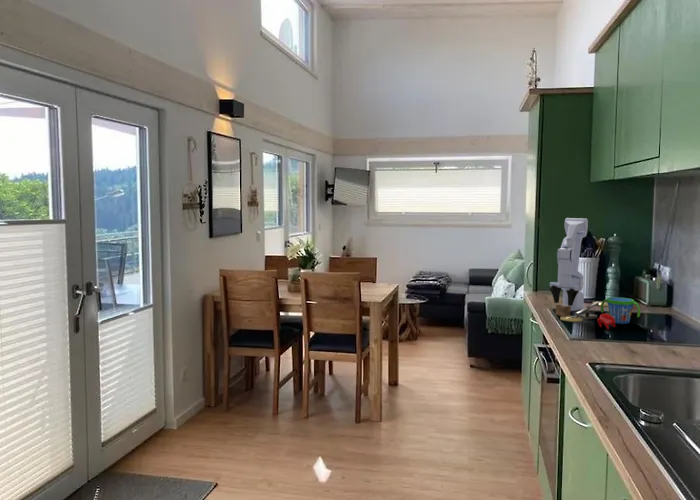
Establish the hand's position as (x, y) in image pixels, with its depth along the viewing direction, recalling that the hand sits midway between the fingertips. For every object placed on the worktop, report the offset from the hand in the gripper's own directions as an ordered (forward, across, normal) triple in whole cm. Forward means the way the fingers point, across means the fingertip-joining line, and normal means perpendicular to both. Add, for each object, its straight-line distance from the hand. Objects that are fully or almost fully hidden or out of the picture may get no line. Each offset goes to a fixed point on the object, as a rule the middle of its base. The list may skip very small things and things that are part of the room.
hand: (563, 304), depth 253 cm
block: (+5, 0, 0) cm, 5 cm away
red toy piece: (+5, +26, -5) cm, 27 cm away
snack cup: (+5, +22, +9) cm, 24 cm away
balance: (+5, +9, +5) cm, 11 cm away
